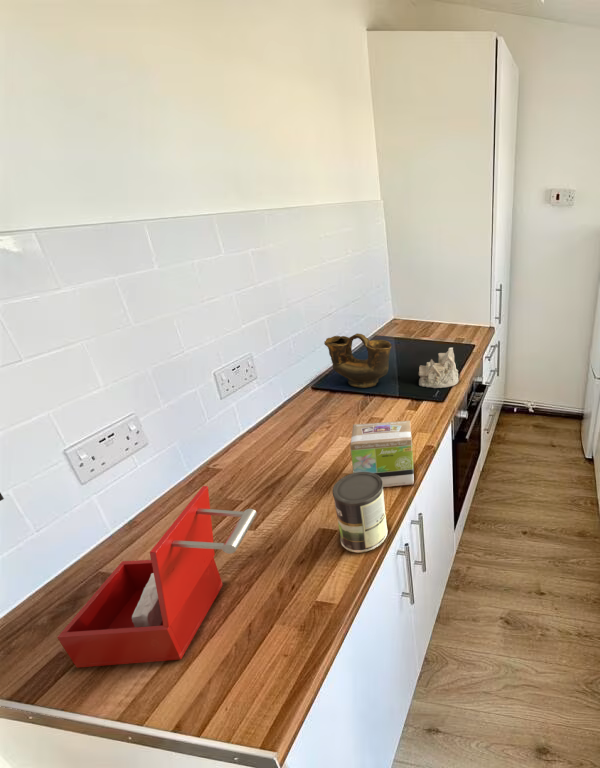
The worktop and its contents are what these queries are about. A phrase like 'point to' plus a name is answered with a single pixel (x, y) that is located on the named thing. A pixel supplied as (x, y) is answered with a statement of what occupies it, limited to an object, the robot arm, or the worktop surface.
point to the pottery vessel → (357, 369)
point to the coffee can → (360, 511)
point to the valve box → (117, 631)
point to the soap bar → (148, 607)
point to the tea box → (384, 451)
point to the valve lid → (191, 551)
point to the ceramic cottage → (439, 371)
